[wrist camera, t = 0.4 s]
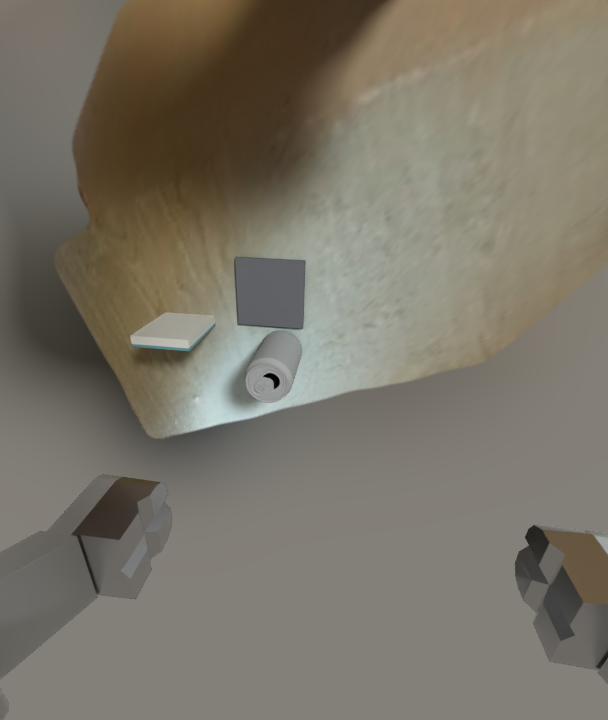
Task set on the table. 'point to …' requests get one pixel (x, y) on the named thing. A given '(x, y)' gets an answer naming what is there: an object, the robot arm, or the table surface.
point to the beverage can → (274, 367)
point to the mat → (270, 291)
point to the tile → (173, 331)
